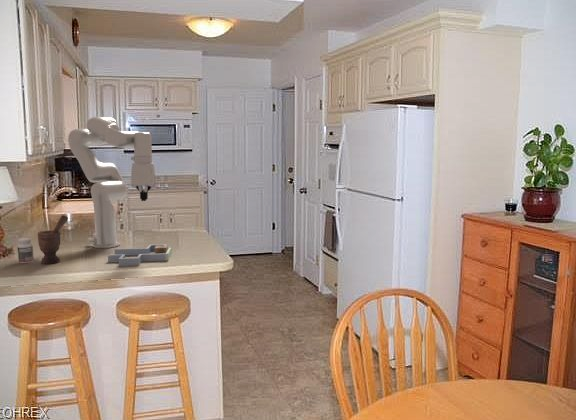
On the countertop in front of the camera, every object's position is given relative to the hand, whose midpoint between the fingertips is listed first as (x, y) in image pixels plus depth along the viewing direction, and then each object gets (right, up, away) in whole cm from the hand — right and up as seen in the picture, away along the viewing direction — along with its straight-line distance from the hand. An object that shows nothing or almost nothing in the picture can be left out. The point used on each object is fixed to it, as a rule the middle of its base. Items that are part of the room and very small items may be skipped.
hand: (143, 200), depth 228 cm
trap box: (0, -25, -6) cm, 26 cm away
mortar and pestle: (-35, -27, -13) cm, 45 cm away
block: (+9, -25, -5) cm, 28 cm away
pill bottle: (-47, -27, -13) cm, 55 cm away
